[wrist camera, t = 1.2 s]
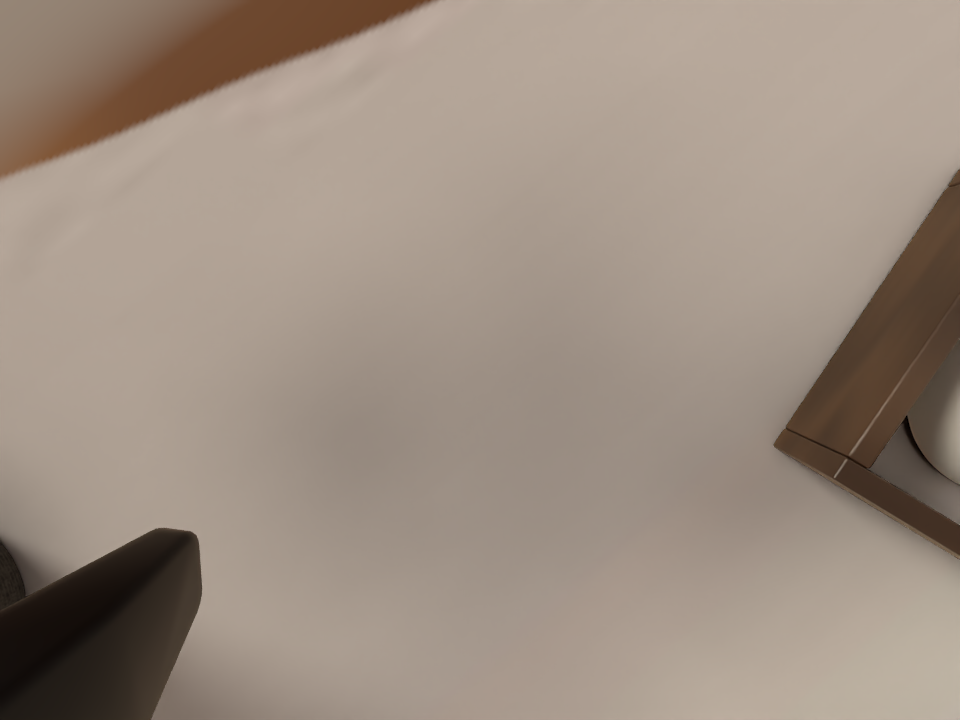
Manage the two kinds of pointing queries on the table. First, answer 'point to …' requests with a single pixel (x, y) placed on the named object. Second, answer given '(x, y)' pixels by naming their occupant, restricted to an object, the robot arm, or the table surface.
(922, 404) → the can
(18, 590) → the coffee cup
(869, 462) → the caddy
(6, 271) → the table surface
